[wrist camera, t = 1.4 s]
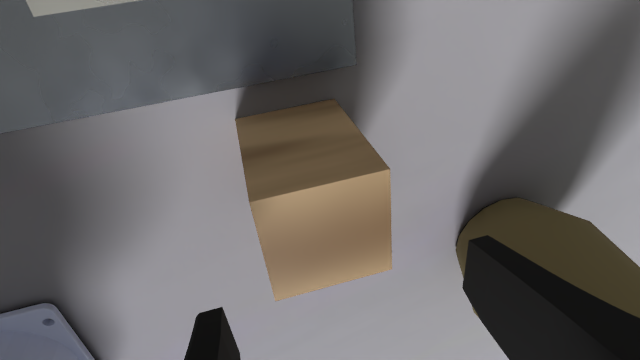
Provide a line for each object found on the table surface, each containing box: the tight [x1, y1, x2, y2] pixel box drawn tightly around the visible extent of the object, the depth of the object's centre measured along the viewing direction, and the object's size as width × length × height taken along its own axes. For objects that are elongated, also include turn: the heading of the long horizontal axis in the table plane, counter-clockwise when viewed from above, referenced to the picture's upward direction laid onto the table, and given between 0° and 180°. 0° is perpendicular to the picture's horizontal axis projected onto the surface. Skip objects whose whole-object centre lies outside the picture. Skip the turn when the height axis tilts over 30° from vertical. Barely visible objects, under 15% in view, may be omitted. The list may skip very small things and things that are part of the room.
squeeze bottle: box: [456, 198, 640, 318], centre depth 18 cm, size 8×8×18 cm
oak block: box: [235, 99, 392, 301], centre depth 16 cm, size 4×4×6 cm
